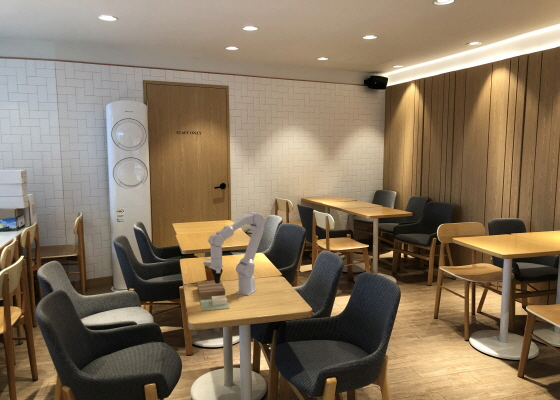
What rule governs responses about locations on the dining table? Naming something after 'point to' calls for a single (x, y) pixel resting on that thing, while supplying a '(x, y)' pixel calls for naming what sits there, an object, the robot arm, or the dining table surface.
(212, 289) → the deck
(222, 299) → the tile
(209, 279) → the disposable coffee cup
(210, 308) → the mat
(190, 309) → the dining table surface
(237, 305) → the dining table surface
